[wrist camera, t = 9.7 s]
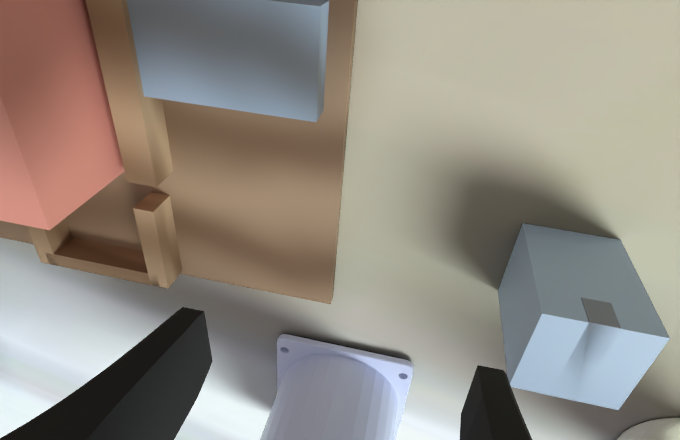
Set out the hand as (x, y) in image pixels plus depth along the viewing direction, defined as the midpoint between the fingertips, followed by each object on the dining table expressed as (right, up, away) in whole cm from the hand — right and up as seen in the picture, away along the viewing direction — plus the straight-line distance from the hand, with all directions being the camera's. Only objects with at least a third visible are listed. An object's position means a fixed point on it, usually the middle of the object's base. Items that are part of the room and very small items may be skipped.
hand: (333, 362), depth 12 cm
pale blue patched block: (+10, +2, +9) cm, 13 cm away
